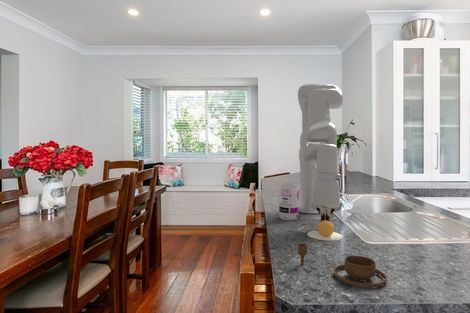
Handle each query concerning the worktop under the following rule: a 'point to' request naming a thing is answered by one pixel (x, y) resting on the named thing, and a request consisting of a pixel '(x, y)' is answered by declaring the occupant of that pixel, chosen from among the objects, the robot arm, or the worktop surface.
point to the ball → (325, 228)
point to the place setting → (352, 269)
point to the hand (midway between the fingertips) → (324, 225)
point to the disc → (318, 236)
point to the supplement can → (288, 201)
